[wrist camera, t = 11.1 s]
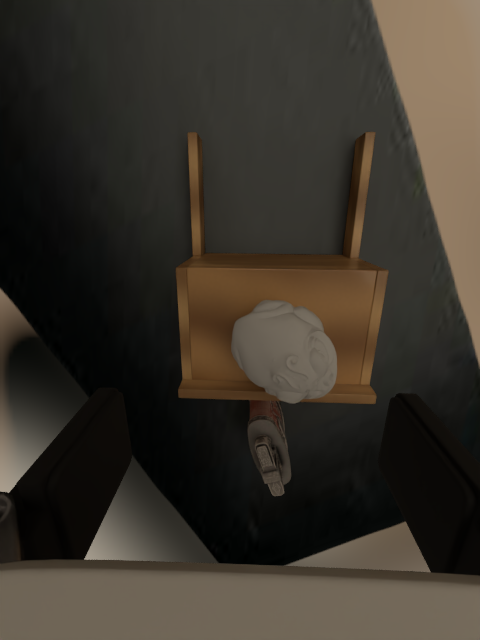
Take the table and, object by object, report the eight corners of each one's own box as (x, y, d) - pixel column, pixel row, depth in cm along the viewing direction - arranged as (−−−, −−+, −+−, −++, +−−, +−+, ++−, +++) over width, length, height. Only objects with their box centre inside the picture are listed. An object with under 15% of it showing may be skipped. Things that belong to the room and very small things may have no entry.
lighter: (288, 431, 37) (301, 505, 27) (262, 437, 37) (265, 512, 28) (271, 375, 34) (277, 435, 25) (242, 382, 35) (239, 444, 25)
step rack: (193, 139, 27) (158, 95, 17) (364, 139, 26) (431, 93, 17) (200, 344, 34) (178, 398, 24) (338, 347, 33) (375, 404, 23)
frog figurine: (289, 380, 24) (303, 441, 18) (216, 334, 23) (202, 380, 17) (338, 321, 23) (373, 365, 16) (261, 269, 22) (265, 292, 15)
